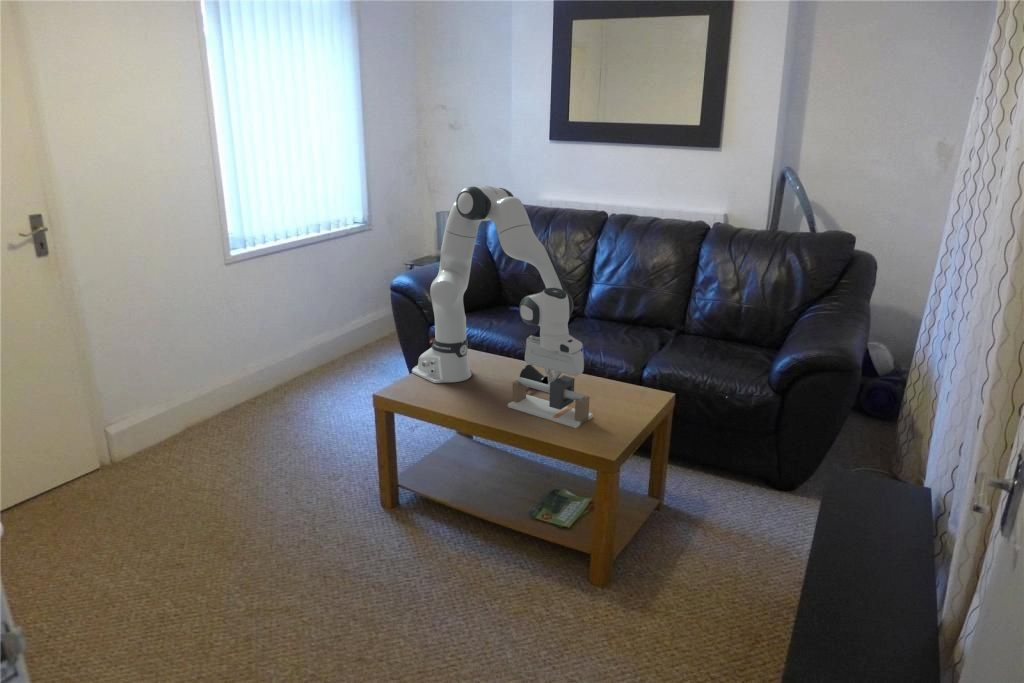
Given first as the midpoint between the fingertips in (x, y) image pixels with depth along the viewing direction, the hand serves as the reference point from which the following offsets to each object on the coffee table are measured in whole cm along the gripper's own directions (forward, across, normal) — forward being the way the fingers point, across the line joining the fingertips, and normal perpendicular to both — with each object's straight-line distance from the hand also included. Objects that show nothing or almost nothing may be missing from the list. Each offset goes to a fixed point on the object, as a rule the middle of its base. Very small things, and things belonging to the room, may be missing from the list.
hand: (552, 382), depth 222 cm
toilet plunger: (+11, -18, +10) cm, 23 cm away
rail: (+11, -1, 0) cm, 11 cm away
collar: (+7, +4, 0) cm, 7 cm away
